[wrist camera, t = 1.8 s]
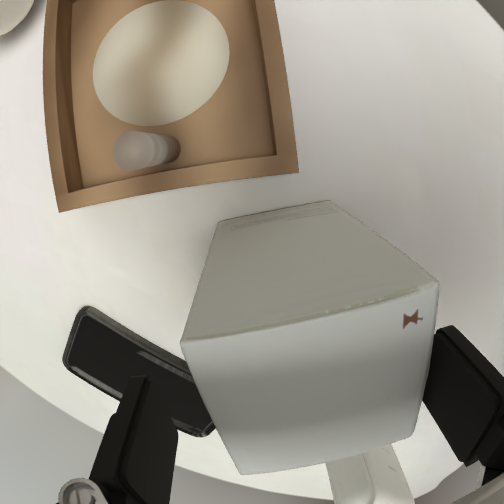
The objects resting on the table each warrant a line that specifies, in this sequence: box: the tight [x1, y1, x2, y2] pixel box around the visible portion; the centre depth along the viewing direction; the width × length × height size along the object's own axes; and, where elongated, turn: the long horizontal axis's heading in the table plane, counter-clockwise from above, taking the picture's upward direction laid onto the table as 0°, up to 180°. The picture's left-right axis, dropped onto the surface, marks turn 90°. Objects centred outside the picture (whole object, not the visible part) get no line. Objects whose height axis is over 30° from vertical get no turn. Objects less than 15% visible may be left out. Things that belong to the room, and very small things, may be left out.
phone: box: [62, 306, 216, 437], centre depth 23 cm, size 8×1×15 cm
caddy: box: [43, 0, 299, 213], centre depth 12 cm, size 14×16×7 cm
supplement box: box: [180, 200, 439, 475], centre depth 14 cm, size 7×7×13 cm
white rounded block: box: [326, 444, 414, 504], centre depth 20 cm, size 10×4×12 cm, turn 42°
